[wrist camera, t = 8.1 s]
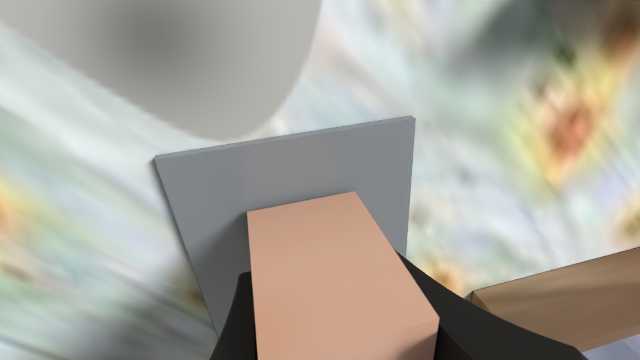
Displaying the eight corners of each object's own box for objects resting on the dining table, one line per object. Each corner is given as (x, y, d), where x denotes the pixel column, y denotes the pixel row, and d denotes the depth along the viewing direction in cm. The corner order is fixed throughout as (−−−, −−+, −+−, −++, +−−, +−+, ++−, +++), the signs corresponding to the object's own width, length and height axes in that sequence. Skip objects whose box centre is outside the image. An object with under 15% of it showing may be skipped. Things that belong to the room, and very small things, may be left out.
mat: (400, 286, 18) (403, 292, 18) (218, 332, 17) (218, 339, 16) (410, 115, 14) (415, 118, 13) (156, 155, 12) (154, 159, 12)
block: (357, 270, 16) (424, 413, 10) (264, 291, 15) (284, 458, 10) (354, 190, 14) (439, 318, 8) (247, 211, 13) (258, 367, 7)
